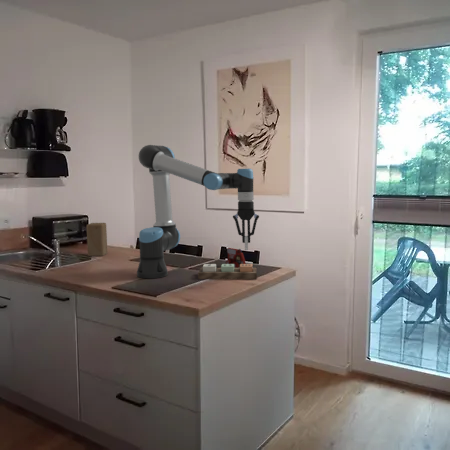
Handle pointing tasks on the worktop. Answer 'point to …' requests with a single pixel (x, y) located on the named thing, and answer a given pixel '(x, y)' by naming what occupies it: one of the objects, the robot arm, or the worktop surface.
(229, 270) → the tile
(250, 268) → the tile
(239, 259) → the toy fire truck
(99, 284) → the worktop surface
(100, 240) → the wooden block
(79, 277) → the worktop surface
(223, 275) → the board
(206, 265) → the tile
